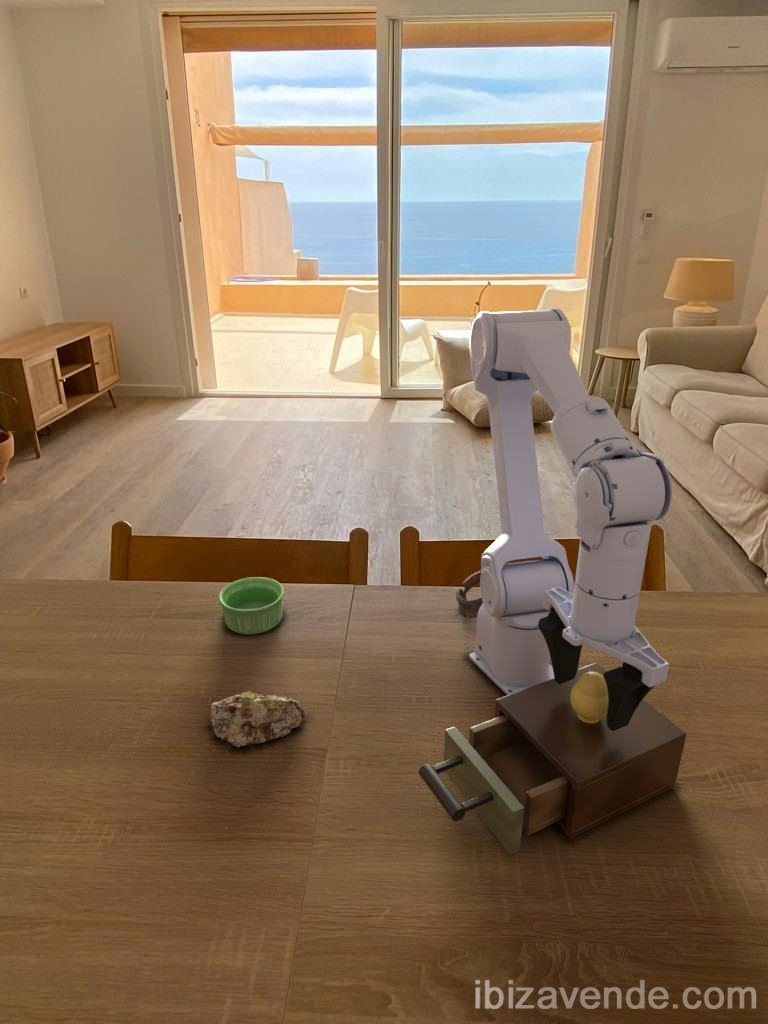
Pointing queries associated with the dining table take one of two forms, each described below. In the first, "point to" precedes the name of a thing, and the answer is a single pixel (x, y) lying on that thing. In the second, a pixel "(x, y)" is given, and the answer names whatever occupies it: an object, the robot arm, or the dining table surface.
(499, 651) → the robot arm
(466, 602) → the pottery mug
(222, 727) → the mineral rock
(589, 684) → the yellow double-bulb knob
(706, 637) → the dining table surface
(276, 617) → the ramekin
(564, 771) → the cabinet
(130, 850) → the dining table surface
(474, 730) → the drawer
